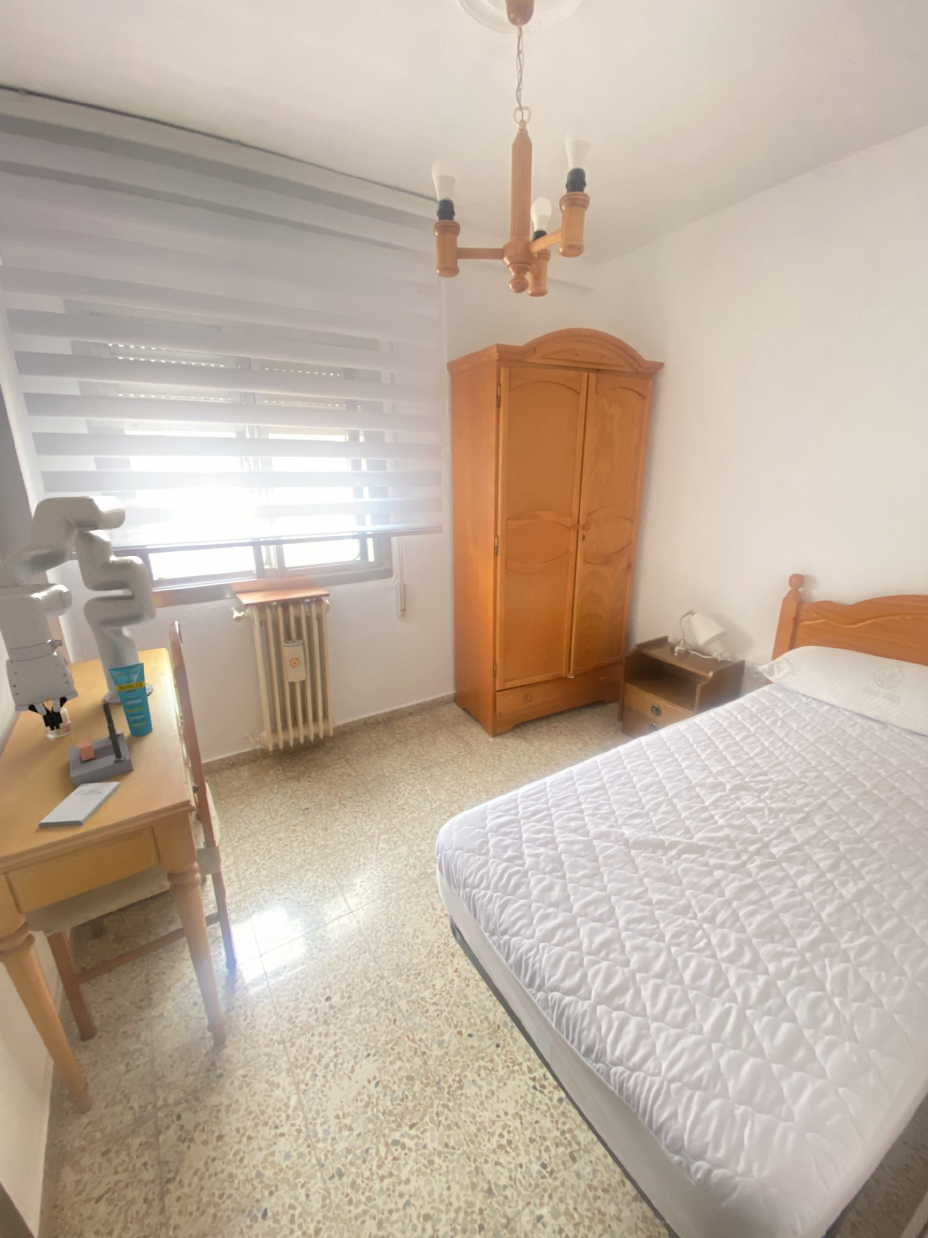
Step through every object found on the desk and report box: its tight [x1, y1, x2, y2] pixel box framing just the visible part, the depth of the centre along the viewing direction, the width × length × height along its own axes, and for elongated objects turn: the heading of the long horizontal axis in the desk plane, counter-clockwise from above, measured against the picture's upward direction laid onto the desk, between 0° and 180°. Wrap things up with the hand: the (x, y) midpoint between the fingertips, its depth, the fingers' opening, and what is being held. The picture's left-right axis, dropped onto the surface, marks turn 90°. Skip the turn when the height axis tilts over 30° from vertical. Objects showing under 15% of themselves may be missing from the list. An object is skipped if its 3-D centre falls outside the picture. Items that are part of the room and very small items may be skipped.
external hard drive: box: [38, 781, 121, 828], centre depth 102 cm, size 2×8×12 cm
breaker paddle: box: [77, 737, 95, 761], centre depth 114 cm, size 4×2×3 cm, turn 39°
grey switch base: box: [68, 732, 134, 790], centre depth 116 cm, size 16×11×3 cm
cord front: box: [107, 724, 122, 758], centre depth 111 cm, size 1×1×8 cm
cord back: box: [102, 702, 117, 733], centre depth 121 cm, size 1×1×8 cm
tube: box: [108, 662, 153, 737], centre depth 127 cm, size 7×5×19 cm, turn 123°
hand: (55, 727), depth 109 cm, fingers closed
